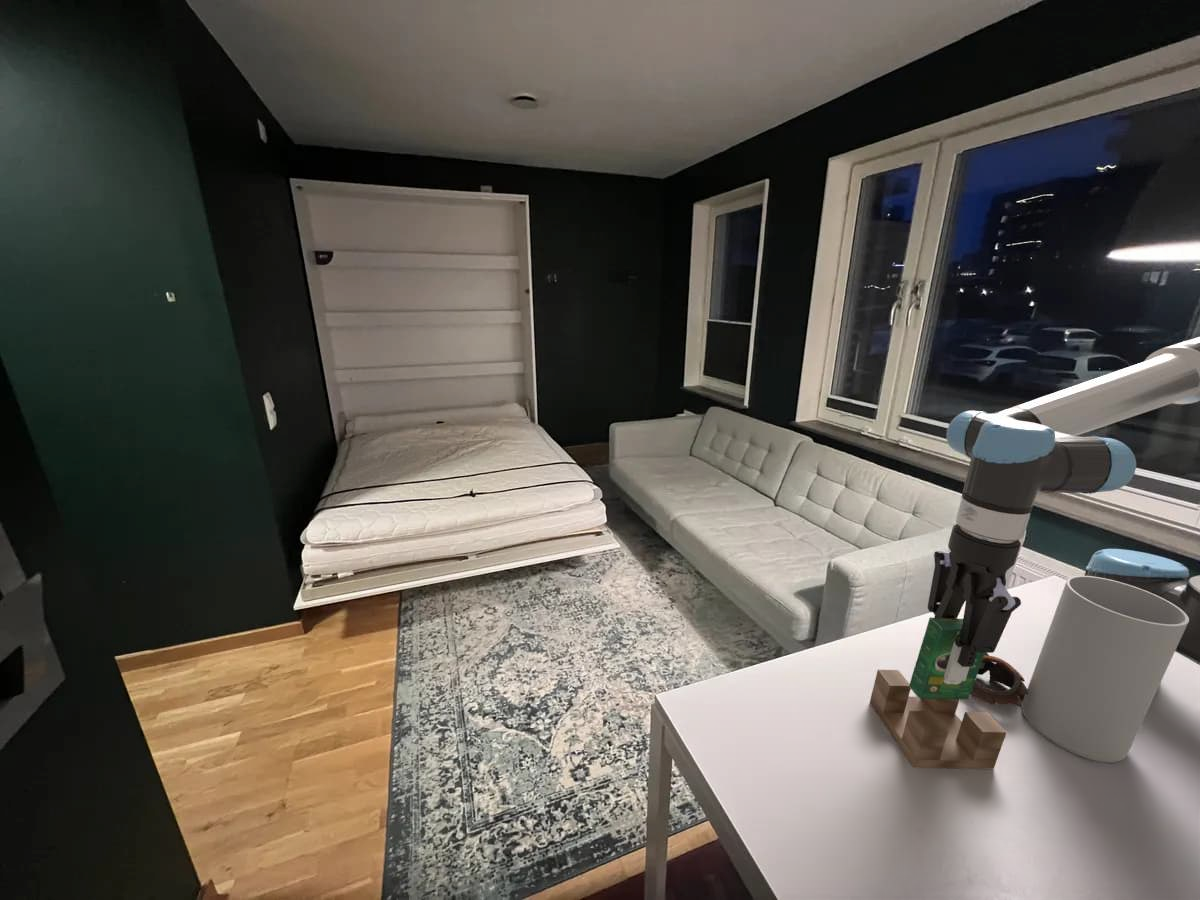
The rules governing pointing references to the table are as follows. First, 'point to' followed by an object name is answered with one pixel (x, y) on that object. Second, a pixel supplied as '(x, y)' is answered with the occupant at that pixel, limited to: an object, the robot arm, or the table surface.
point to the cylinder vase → (1101, 666)
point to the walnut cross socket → (935, 727)
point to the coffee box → (941, 663)
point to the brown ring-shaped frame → (1002, 675)
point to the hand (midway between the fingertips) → (946, 669)
